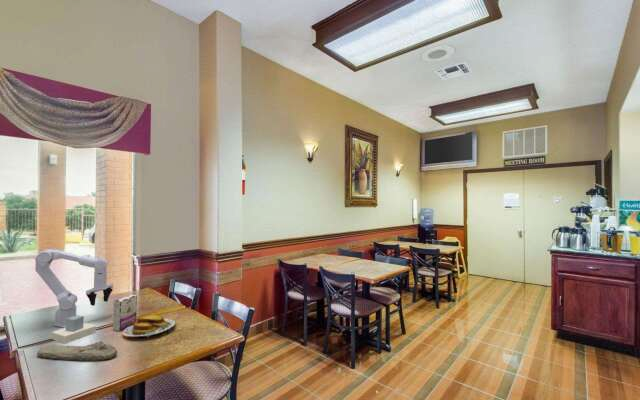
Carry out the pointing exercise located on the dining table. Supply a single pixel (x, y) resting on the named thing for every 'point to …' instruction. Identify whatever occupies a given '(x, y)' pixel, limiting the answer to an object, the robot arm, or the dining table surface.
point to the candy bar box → (124, 312)
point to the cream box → (73, 333)
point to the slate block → (74, 323)
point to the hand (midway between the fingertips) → (99, 303)
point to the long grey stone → (79, 352)
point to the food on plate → (148, 326)
